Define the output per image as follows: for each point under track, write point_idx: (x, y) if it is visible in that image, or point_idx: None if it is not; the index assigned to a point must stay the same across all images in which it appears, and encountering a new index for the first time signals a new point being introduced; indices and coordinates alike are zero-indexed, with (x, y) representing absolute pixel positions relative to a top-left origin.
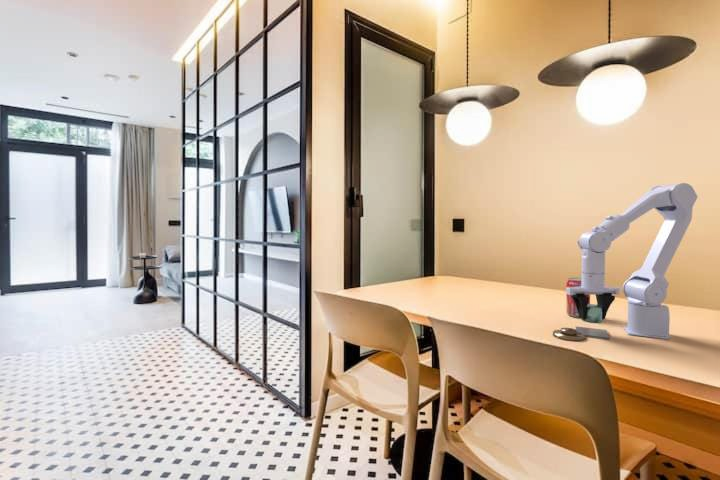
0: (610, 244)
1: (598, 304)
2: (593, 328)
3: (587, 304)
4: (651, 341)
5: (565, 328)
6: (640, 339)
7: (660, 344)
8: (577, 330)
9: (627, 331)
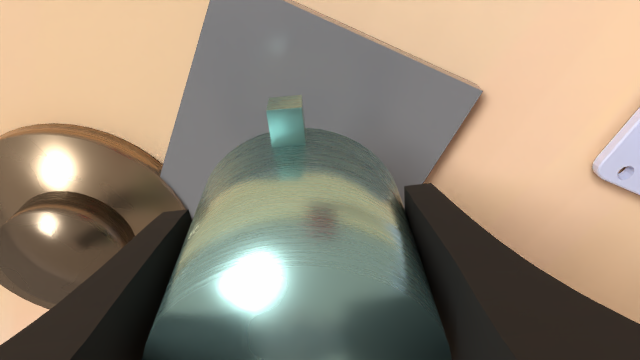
0: None
1: (470, 313)
2: (379, 49)
3: (259, 309)
4: (614, 276)
5: (37, 233)
6: (581, 246)
7: None
8: (187, 126)
9: (636, 129)
